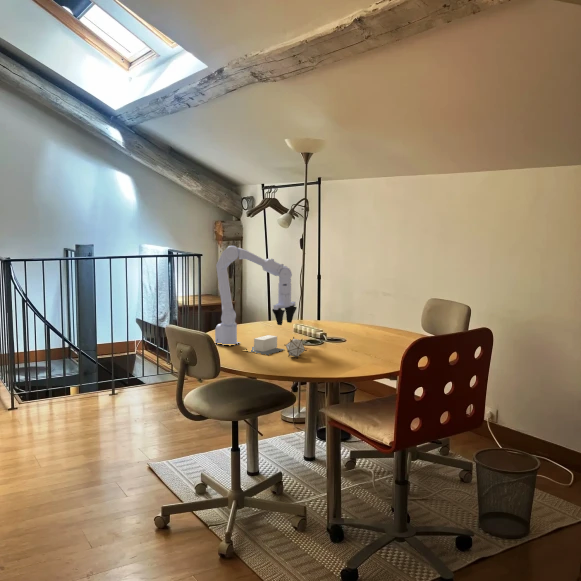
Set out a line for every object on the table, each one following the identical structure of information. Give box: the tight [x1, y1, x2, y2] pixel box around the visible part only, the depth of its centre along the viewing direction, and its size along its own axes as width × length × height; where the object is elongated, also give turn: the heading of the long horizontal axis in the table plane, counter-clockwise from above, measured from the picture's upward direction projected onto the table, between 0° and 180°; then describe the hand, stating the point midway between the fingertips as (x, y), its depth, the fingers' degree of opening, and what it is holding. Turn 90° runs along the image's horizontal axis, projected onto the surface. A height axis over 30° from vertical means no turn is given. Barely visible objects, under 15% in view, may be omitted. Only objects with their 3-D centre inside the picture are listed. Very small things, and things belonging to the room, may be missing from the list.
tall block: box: [253, 334, 278, 352], centre depth 265 cm, size 5×5×10 cm
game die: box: [283, 336, 308, 360], centre depth 252 cm, size 9×8×10 cm
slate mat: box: [250, 346, 285, 356], centre depth 264 cm, size 14×12×1 cm
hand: (284, 323), depth 276 cm, fingers open, 7 cm apart
